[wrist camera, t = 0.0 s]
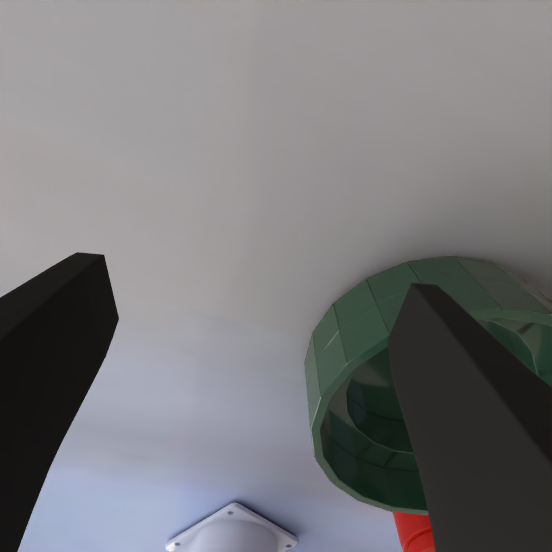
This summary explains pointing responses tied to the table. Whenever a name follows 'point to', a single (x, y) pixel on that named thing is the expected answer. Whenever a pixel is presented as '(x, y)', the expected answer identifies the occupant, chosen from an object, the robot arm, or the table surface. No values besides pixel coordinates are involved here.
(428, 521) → the pepper
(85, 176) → the table surface
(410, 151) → the table surface
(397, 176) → the table surface
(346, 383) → the green round bowl
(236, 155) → the table surface
